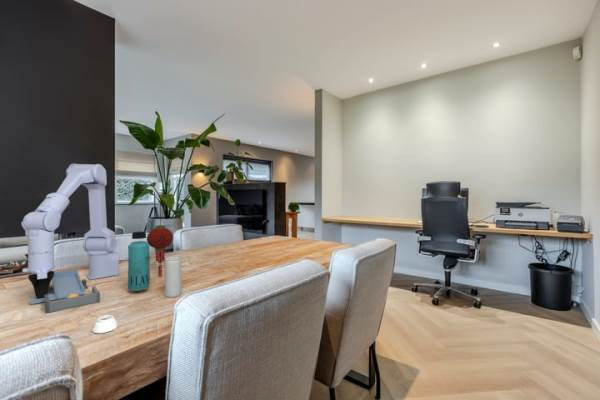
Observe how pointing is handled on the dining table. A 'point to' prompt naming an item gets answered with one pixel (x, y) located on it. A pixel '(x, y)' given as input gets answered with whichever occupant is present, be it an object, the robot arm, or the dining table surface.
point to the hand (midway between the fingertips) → (41, 297)
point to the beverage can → (172, 277)
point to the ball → (72, 295)
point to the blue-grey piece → (63, 286)
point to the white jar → (105, 324)
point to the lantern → (160, 242)
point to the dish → (71, 301)
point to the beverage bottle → (138, 263)
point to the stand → (53, 290)
